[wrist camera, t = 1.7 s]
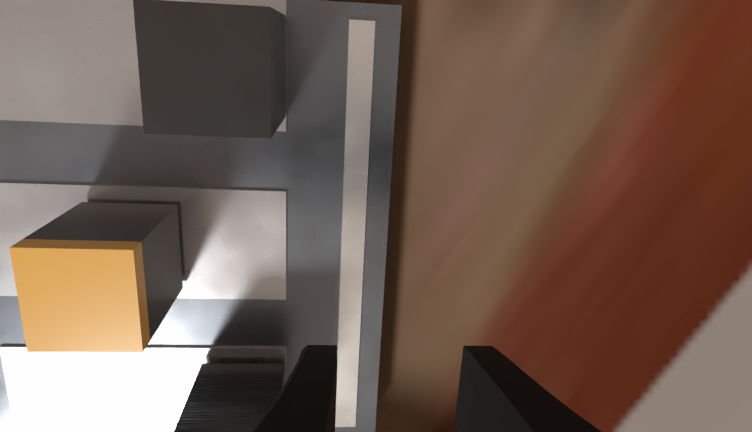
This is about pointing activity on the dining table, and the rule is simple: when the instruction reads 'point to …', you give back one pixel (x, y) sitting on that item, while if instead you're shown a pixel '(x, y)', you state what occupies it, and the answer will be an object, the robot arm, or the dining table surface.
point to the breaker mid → (98, 277)
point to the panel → (205, 197)
